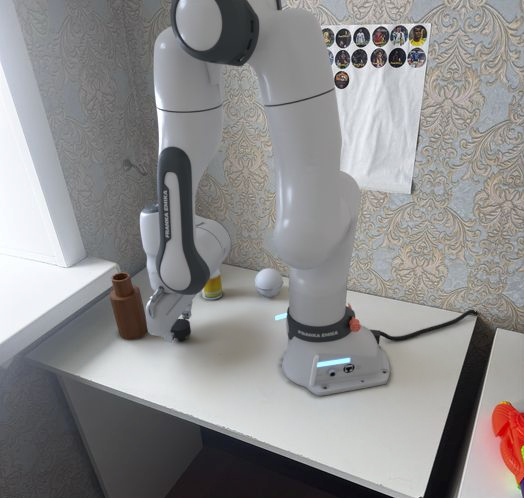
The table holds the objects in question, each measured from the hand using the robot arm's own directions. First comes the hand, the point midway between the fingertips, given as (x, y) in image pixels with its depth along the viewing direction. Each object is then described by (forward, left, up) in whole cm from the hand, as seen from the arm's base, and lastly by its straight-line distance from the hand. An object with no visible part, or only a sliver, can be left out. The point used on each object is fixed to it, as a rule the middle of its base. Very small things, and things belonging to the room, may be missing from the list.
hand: (178, 328), depth 115 cm
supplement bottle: (-6, -19, -3) cm, 20 cm away
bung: (0, 0, -3) cm, 3 cm away
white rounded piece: (-22, -17, -3) cm, 28 cm away
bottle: (+12, -4, -3) cm, 13 cm away
